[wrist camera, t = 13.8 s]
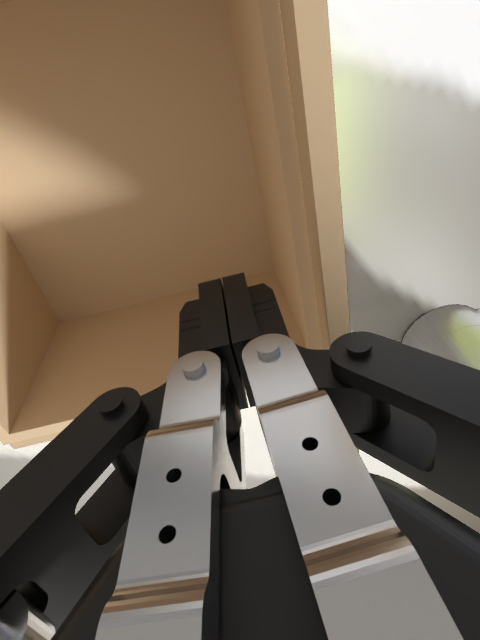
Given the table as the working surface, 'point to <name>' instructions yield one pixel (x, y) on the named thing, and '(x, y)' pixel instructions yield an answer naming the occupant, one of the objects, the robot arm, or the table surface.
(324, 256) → the panel
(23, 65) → the carton
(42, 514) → the robot arm
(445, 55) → the table surface
